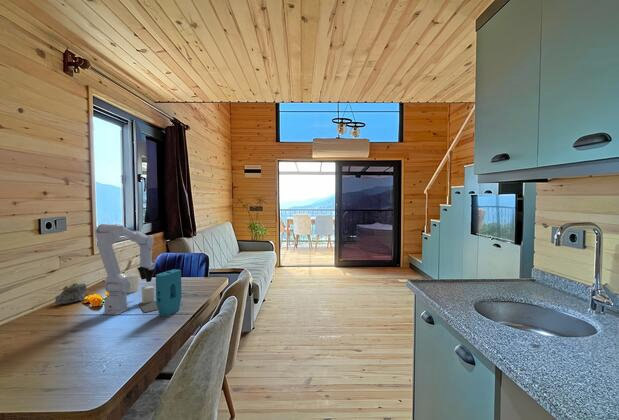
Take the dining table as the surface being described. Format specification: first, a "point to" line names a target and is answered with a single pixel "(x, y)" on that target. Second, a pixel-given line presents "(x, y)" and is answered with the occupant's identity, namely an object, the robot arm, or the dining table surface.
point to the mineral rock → (72, 294)
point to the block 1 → (147, 294)
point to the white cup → (133, 282)
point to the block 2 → (168, 292)
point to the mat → (148, 306)
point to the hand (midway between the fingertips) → (146, 280)
